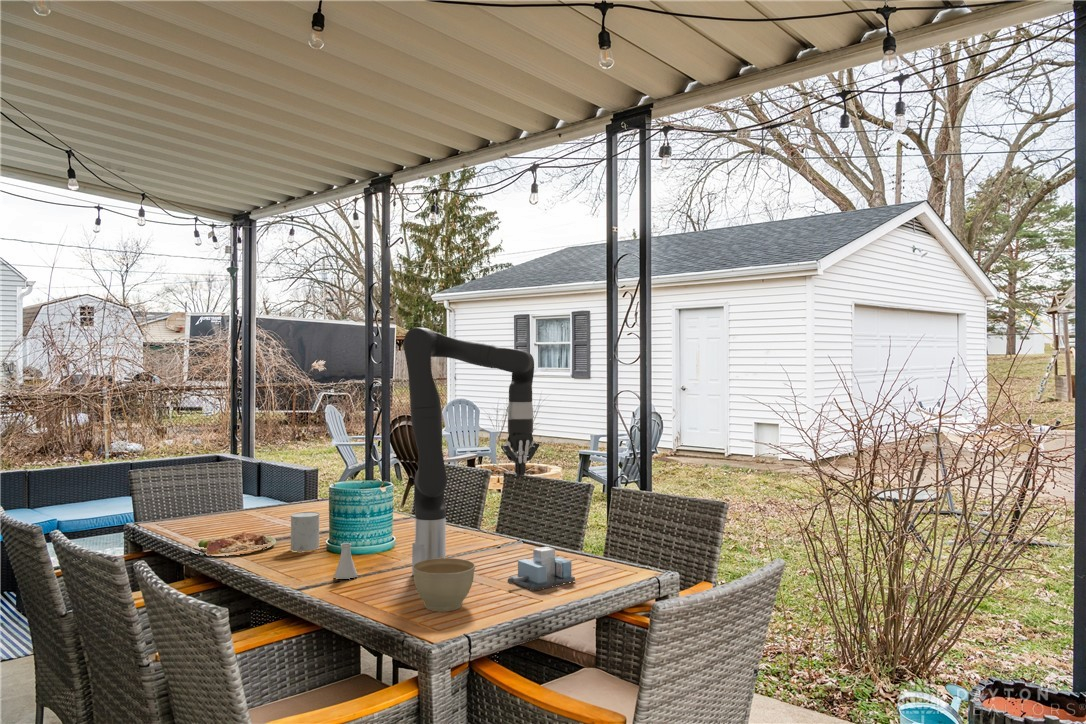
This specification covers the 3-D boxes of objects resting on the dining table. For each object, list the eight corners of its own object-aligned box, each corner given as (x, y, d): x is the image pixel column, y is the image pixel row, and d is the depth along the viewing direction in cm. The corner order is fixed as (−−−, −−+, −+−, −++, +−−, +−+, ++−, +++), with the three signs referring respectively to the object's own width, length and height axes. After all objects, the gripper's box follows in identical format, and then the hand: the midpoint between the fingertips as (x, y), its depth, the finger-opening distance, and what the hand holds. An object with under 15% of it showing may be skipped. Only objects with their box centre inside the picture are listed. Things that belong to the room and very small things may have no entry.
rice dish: (234, 565, 235) (235, 548, 235) (171, 554, 245) (171, 538, 245) (292, 546, 261) (293, 531, 261) (233, 537, 271) (233, 522, 271)
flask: (335, 582, 211) (336, 547, 211) (330, 576, 217) (331, 542, 218) (360, 579, 214) (361, 545, 215) (355, 573, 221) (355, 540, 221)
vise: (533, 591, 202) (533, 569, 203) (509, 581, 212) (509, 561, 212) (574, 582, 211) (574, 561, 212) (549, 573, 221) (550, 553, 221)
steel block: (541, 579, 209) (541, 551, 209) (533, 576, 212) (533, 548, 213) (554, 576, 212) (555, 549, 212) (546, 573, 215) (546, 546, 216)
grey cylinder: (284, 551, 248) (284, 515, 248) (303, 545, 257) (303, 511, 257) (306, 554, 244) (306, 517, 245) (325, 548, 253) (325, 513, 254)
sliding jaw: (518, 588, 200) (518, 571, 201) (498, 580, 208) (498, 564, 209) (547, 582, 207) (547, 565, 207) (527, 574, 215) (527, 558, 215)
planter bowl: (448, 621, 177) (448, 576, 178) (399, 609, 186) (400, 567, 186) (487, 603, 191) (487, 562, 191) (440, 594, 200) (440, 554, 200)
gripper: (531, 416, 221) (530, 472, 221) (494, 417, 213) (494, 476, 213) (545, 417, 215) (545, 475, 215) (509, 418, 207) (509, 478, 207)
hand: (520, 475), depth 214 cm, fingers closed
